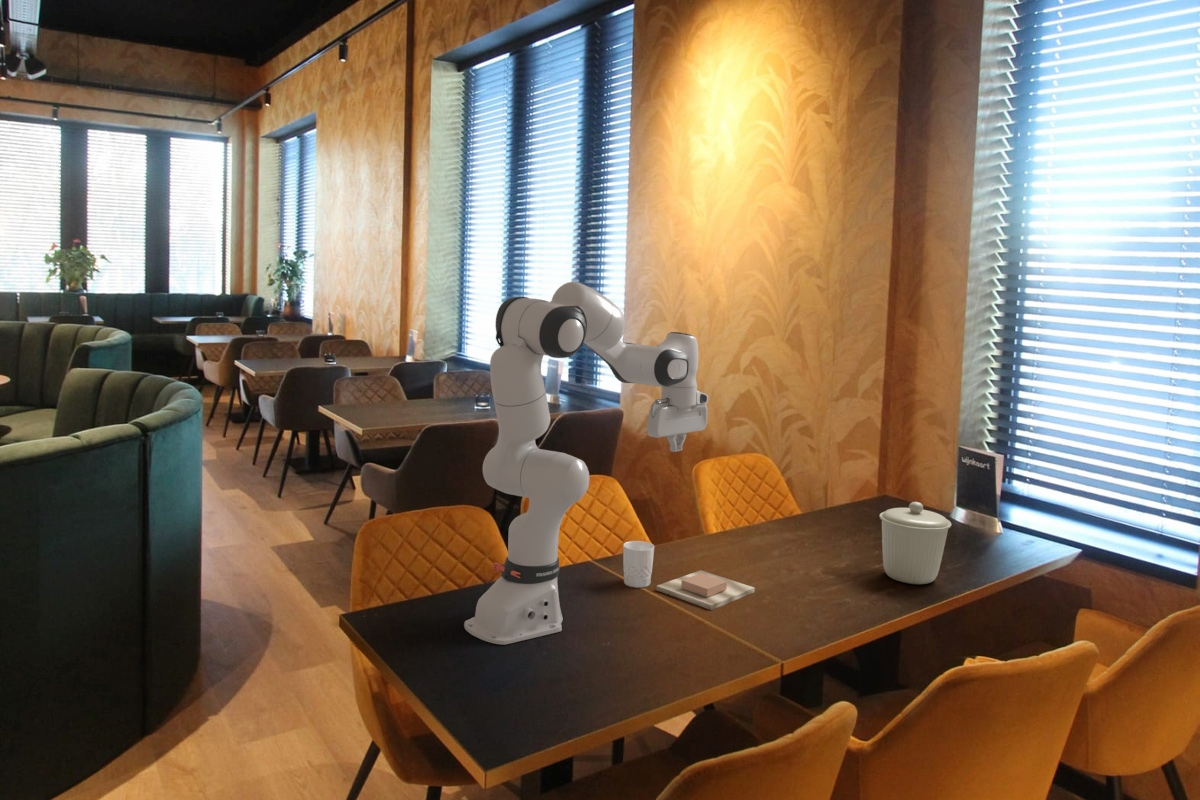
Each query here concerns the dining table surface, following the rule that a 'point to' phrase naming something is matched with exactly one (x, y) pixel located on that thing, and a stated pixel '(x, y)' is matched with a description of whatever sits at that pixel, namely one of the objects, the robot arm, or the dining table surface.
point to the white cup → (637, 563)
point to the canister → (913, 543)
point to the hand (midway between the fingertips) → (675, 451)
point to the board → (711, 602)
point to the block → (704, 585)
